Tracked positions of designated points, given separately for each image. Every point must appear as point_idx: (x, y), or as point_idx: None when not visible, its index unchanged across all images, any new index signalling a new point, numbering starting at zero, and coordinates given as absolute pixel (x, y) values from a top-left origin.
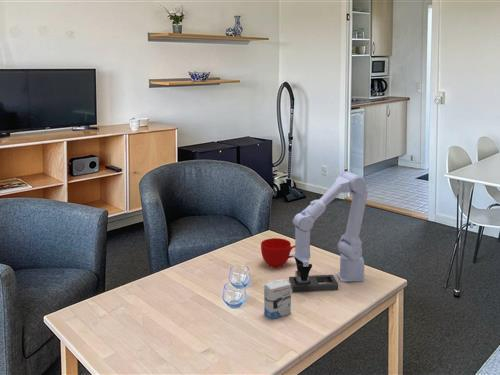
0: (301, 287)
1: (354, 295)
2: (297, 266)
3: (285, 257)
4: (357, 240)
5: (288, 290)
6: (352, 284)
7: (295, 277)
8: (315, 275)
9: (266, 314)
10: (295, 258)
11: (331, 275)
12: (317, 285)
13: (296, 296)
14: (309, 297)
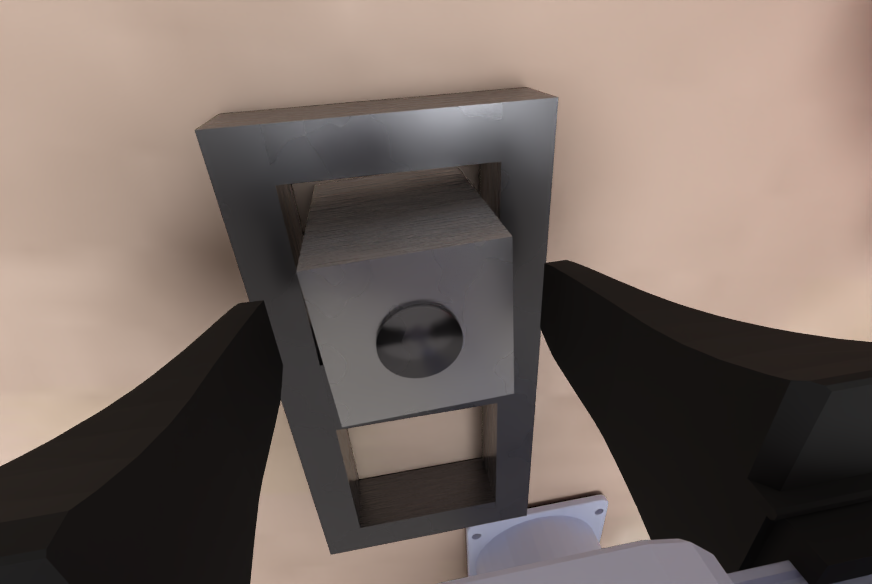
0: (241, 253)
1: (255, 580)
2: (596, 303)
3: None
4: None
5: None
6: (428, 564)
7: (457, 201)
8: (534, 403)
9: None
10: (736, 386)
11: (512, 508)
12: (290, 421)
13: (108, 158)
14: (127, 305)
